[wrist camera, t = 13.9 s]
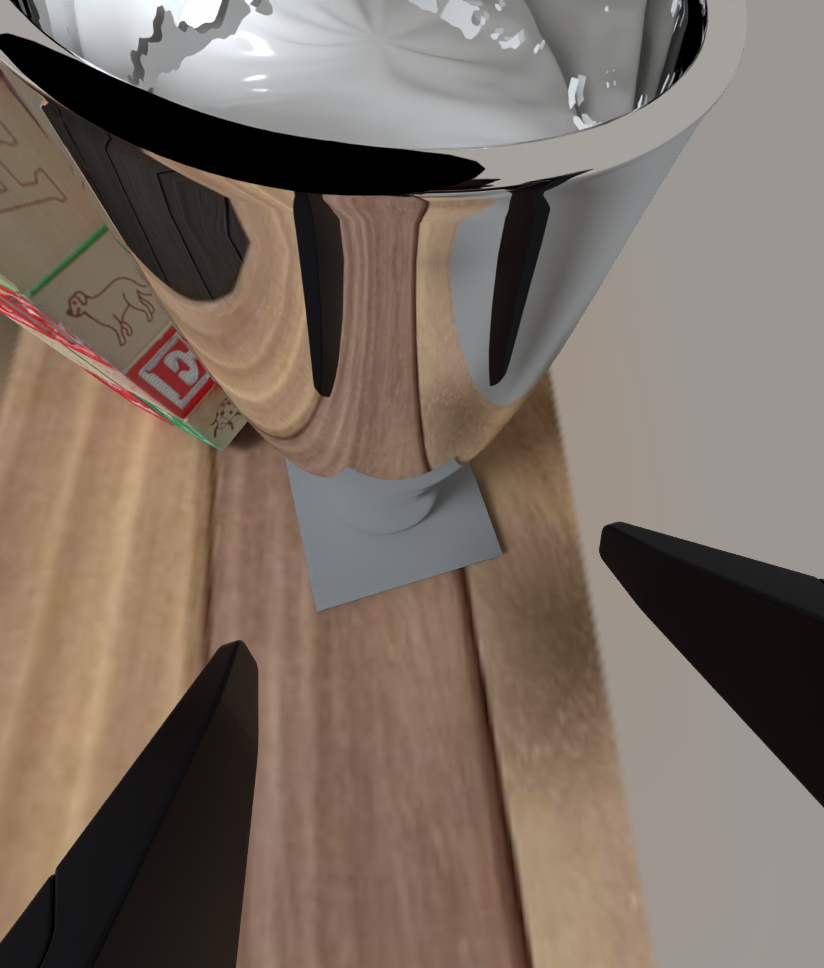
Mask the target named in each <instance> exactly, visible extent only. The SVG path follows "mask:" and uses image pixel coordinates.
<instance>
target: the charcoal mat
mask: <svg viewBox="0 0 824 968" xmlns="http://www.w3.org/2000/svg"><path fill="white" fill-rule="evenodd" d="M285 460H286V465H287V470H288V475H289V479H290V484H291V489H292V494H293V499H294V504H295V509H296V514H297V519H298V524H299V529H300V533H301V538H302V543H303V548H304V553H305V558H306V563H307V568H308V573H309V578H310V583H311V588H312V592H313V597H314V602H315V607H316V612H317V611H321V610H324V609H327V608H330V607H334V606H337V605H340V604H344V603H347V602H350V601H353V600H357V599H360V598H363V597H367V596H370V595H373V594H376V593H380V592H383V591H386V590H389V589H393V588H396V587H399V586H403V585H406V584H409V583H412V582H416V581H419V580H422V579H425V578H429V577H432V576H435V575H439V574H442V573H445V572H448V571H452V570H455V569H458V568H462V567H465V566H468V565H471V564H475V563H478V562H481V561H484V560H488V559H491V558H494V557H498V556H501V555H503V554H502V551H501V548H500V545H499V543H498V540H497V537H496V534H495V531H494V529H493V526H492V523H491V520H490V518H489V515H488V512H487V509H486V506H485V504H484V501H483V498H482V495H481V492H480V490H479V487H478V484H477V481H476V478H475V476H474V473H473V470H472V467H471V464H470V462H468V463H467V464H465V465H464V466H463V467H462V468H461V469H459V470H458V471H457V472H455V473H454V474H452V475H451V476H449V477H448V478H446V479H445V480H443V485H442V490H441V493H440V496H439V498H438V500H437V502H436V504H435V506H434V507H433V509H432V510H431V511H430V512H429V514H428V515H427V516H426V517H425V518H424V519H422V520H421V521H420V522H419V523H417V524H415V525H414V526H412V527H410V528H408V529H405V530H403V531H400V532H396V533H391V534H371V533H366V532H363V531H360V530H357V529H355V528H353V527H351V526H349V525H347V524H346V523H344V522H343V521H342V520H341V519H339V518H338V517H337V516H336V515H335V514H334V512H333V511H332V510H331V509H330V507H329V506H328V504H327V502H326V500H325V498H324V496H323V493H322V490H321V486H320V481H318V480H316V479H315V478H313V477H312V476H310V475H308V474H307V473H305V472H304V471H302V470H301V469H300V468H298V467H297V466H296V465H294V464H293V463H292V462H291V461H289V460H288V459H287V458H286V457H285Z"/></svg>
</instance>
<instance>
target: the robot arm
mask: <svg viewBox="0 0 824 968" xmlns="http://www.w3.org/2000/svg"><path fill="white" fill-rule="evenodd" d="M599 553H600V556H601V558H602V560H603V561H604V562H605V564H606V565H607V566H608V568H609V569H610V570H611V571H612V573H613V574H614V575H615V577H616V578H617V579H618V580H619V582H620V583H621V584H622V586H623V587H624V588H625V590H626V591H627V592H628V593H629V595H630V596H631V598H632V599H633V600H634V601H635V603H636V604H637V605H638V606H639V608H640V609H641V610H642V611H643V612H644V613H645V614H646V616H647V617H648V618H649V619H650V620H651V621H652V622H653V623H654V624H655V625H656V626H657V628H658V629H659V630H660V631H661V632H662V633H663V634H664V635H665V636H666V637H667V638H668V639H669V641H670V642H671V643H672V644H673V645H674V646H675V647H676V648H677V649H678V650H679V651H680V652H681V654H682V655H683V656H684V657H685V658H686V659H687V660H688V661H689V662H690V663H691V664H692V666H693V667H694V668H695V669H696V670H697V671H698V672H699V673H700V674H701V675H702V676H703V677H704V679H706V681H707V682H708V683H709V684H710V685H711V686H712V687H713V688H714V689H715V690H716V692H717V693H718V694H719V695H720V696H721V697H722V698H723V699H724V700H725V701H726V702H727V703H728V705H730V707H731V708H732V709H733V710H734V711H735V712H736V713H737V714H738V715H739V716H740V717H741V719H742V720H743V721H744V722H745V723H746V724H747V725H748V726H749V727H750V728H751V729H752V731H753V732H754V733H755V734H756V735H757V736H758V737H759V738H760V739H761V740H762V741H763V742H764V743H765V745H766V746H767V747H768V748H769V749H770V750H771V751H772V752H773V753H774V754H775V755H776V756H777V758H778V759H779V760H780V761H781V762H782V763H783V764H784V765H785V766H786V767H787V768H788V769H789V771H790V772H791V773H792V774H793V775H794V776H795V777H796V778H797V779H798V780H799V781H800V783H802V785H803V786H804V787H805V788H806V789H807V790H808V791H809V792H810V793H811V794H812V796H813V797H814V798H815V799H816V800H817V801H818V802H819V803H820V804H821V805H822V806H823V807H824V579H817V578H815V577H813V576H810V575H806V574H803V573H799V572H796V571H792V570H789V569H785V568H782V567H778V566H775V565H771V564H767V563H764V562H761V561H757V560H753V559H750V558H747V557H743V556H740V555H736V554H732V553H729V552H725V551H722V550H718V549H715V548H711V547H708V546H704V545H701V544H697V543H694V542H690V541H687V540H683V539H679V538H676V537H673V536H669V535H666V534H662V533H659V532H655V531H652V530H648V529H645V528H641V527H637V526H634V525H631V524H627V523H624V522H615V523H612V524H609V525H606V526H604V528H603V530H602V534H601V541H600V547H599ZM257 756H258V667H257V663H256V661H255V659H254V658H253V656H252V654H251V653H250V651H249V649H248V648H247V646H246V644H245V643H244V642H243V641H241V640H237V641H234V642H231V643H228V644H224V645H222V646H221V647H220V648H219V649H218V650H217V651H216V653H215V654H214V655H213V657H212V658H211V659H210V661H209V662H208V663H207V665H206V666H205V667H204V669H203V670H202V671H201V673H200V674H199V676H198V677H197V678H196V680H195V681H194V682H193V684H192V685H191V686H190V688H189V689H188V690H187V692H186V693H185V694H184V696H183V697H182V699H181V700H180V701H179V703H178V704H177V705H176V707H175V708H174V709H173V711H172V712H171V713H170V715H169V716H168V717H167V719H166V720H165V722H164V723H163V724H162V726H161V727H160V728H159V730H158V731H157V732H156V734H155V735H154V736H153V738H152V739H151V740H150V742H149V743H148V745H147V746H146V747H145V749H144V750H143V751H142V753H141V754H140V755H139V757H138V758H137V759H136V761H135V762H134V763H133V765H132V766H131V768H130V769H129V770H128V772H127V773H126V774H125V776H124V777H123V778H122V780H121V781H120V782H119V784H118V785H117V786H116V788H115V789H114V791H113V792H112V793H111V795H110V796H109V797H108V799H107V800H106V801H105V803H104V804H103V805H102V807H101V808H100V809H99V811H98V812H97V814H96V815H95V816H94V818H93V819H92V820H91V822H90V823H89V824H88V826H87V827H86V828H85V830H84V831H83V832H82V834H81V835H80V837H79V838H78V839H77V841H76V842H75V843H74V845H73V846H72V847H71V849H70V850H69V851H68V853H67V854H66V855H65V857H64V858H63V860H62V861H61V862H60V864H59V865H58V866H57V868H56V871H55V874H53V875H51V876H50V877H49V878H48V880H47V881H46V882H45V884H44V885H43V886H42V888H41V889H40V890H39V892H38V893H37V894H36V896H35V897H34V898H33V900H32V901H31V903H30V904H29V905H28V907H27V908H26V909H25V911H24V912H23V913H22V915H21V916H20V917H19V919H18V920H17V921H16V923H15V924H14V925H13V927H12V928H11V929H10V931H9V932H8V933H7V934H6V936H5V937H4V938H3V940H2V941H1V942H0V968H236V962H237V952H238V942H239V932H240V923H241V913H242V903H243V894H244V884H245V874H246V864H247V855H248V845H249V835H250V826H251V816H252V806H253V796H254V787H255V777H256V767H257Z"/></svg>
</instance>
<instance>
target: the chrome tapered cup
mask: <svg viewBox="0 0 824 968" xmlns="http://www.w3.org/2000/svg"><path fill="white" fill-rule="evenodd" d="M746 33H747V8H746V2H745V0H0V69H1V70H2V72H3V73H4V75H5V76H6V77H7V79H8V80H9V82H10V83H11V84H12V86H13V87H14V89H15V90H16V91H17V93H18V94H19V96H20V97H21V99H22V100H23V101H24V103H25V104H26V106H27V107H28V108H29V110H30V111H31V113H32V114H33V116H34V117H35V119H36V120H37V122H38V123H39V125H40V126H41V128H42V129H43V131H44V132H45V134H46V135H47V137H48V138H49V140H50V141H51V143H52V144H53V146H54V147H55V149H56V150H57V152H58V153H59V155H60V156H61V158H62V159H63V160H64V162H65V163H66V165H67V166H68V168H69V169H70V171H71V172H72V174H73V175H74V177H75V178H76V180H77V181H78V183H79V184H80V186H81V187H82V189H83V191H84V192H85V194H86V195H87V197H88V198H89V200H90V201H91V203H92V204H93V206H94V207H95V209H96V211H97V212H98V214H99V215H100V217H101V218H102V220H103V221H104V223H105V224H106V226H107V227H108V229H109V231H110V232H111V234H112V235H113V237H114V238H115V240H116V241H117V243H118V244H119V246H120V248H121V249H122V251H123V252H124V254H125V255H126V257H127V258H128V260H129V261H130V263H131V264H132V266H133V267H134V269H135V270H136V272H137V273H138V275H139V276H140V278H141V279H142V281H143V282H144V284H145V285H146V287H147V288H148V290H149V291H150V292H151V294H152V295H153V297H154V298H155V300H156V301H157V303H158V304H159V306H160V307H161V309H162V310H163V312H164V313H165V315H166V316H167V318H168V319H169V320H170V322H171V323H172V325H173V326H174V328H175V329H176V331H177V332H178V334H179V335H180V337H181V338H182V340H183V341H184V342H185V344H186V345H187V346H188V348H189V349H190V350H191V352H192V353H193V354H194V356H195V357H196V358H197V360H198V361H199V362H200V364H201V365H202V366H203V368H204V369H205V370H206V372H207V373H208V374H209V376H210V377H211V378H212V380H213V381H214V382H215V384H216V385H217V386H218V388H219V389H220V390H221V392H222V393H223V394H224V395H225V397H226V398H227V399H228V400H229V401H230V403H231V404H232V405H233V406H234V407H235V408H236V409H237V410H238V411H239V412H240V414H241V415H242V416H243V417H244V418H245V419H246V420H247V421H248V422H249V423H250V425H251V426H252V427H253V428H254V429H255V430H256V431H257V432H258V433H259V434H260V435H261V437H262V438H263V439H264V440H265V441H266V442H267V443H269V444H270V445H271V446H272V447H273V448H274V449H275V450H277V451H278V452H279V453H280V454H282V455H283V456H284V457H286V458H287V459H288V460H289V461H291V462H292V463H293V464H294V465H296V466H297V467H298V468H300V469H301V470H302V471H304V472H305V473H307V474H308V475H310V476H312V477H313V478H315V479H316V480H318V481H320V486H321V490H322V493H323V496H324V498H325V500H326V502H327V504H328V506H329V507H330V509H331V510H332V511H333V512H334V514H335V515H336V516H337V517H338V518H339V519H341V520H342V521H343V522H344V523H346V524H347V525H349V526H351V527H353V528H355V529H357V530H360V531H363V532H366V533H371V534H391V533H396V532H400V531H403V530H405V529H408V528H410V527H412V526H414V525H415V524H417V523H419V522H420V521H421V520H422V519H424V518H425V517H426V516H427V515H428V514H429V512H430V511H431V510H432V509H433V507H434V506H435V504H436V502H437V500H438V498H439V496H440V493H441V490H442V485H443V480H445V479H446V478H448V477H449V476H451V475H452V474H454V473H455V472H457V471H458V470H459V469H461V468H462V467H463V466H464V465H465V464H467V463H468V462H469V461H470V460H471V459H473V458H474V457H475V456H476V455H477V454H478V453H480V452H481V451H482V450H483V449H484V448H485V447H487V446H488V445H489V444H490V443H491V442H492V441H493V439H494V438H495V437H496V436H497V435H498V434H499V433H500V431H501V430H502V429H503V428H504V427H505V425H506V424H507V423H508V422H509V421H510V419H511V418H512V417H513V416H514V415H515V414H516V412H517V411H518V410H519V409H520V408H521V406H522V405H523V404H524V403H525V401H526V400H527V399H528V397H529V396H530V394H531V393H532V392H533V390H534V389H535V387H536V386H537V384H538V383H539V381H540V380H541V379H542V377H543V376H544V374H545V373H546V371H547V370H548V368H549V367H550V366H551V364H552V363H553V361H554V360H555V358H556V357H557V355H558V354H559V353H560V351H561V349H562V348H563V346H564V345H565V343H566V341H567V340H568V338H569V337H570V335H571V333H572V332H573V330H574V328H575V327H576V325H577V324H578V322H579V320H580V319H581V317H582V315H583V314H584V312H585V310H586V309H587V307H588V306H589V304H590V303H591V301H592V299H593V298H594V296H595V295H596V293H597V291H598V290H599V288H600V286H601V285H602V283H603V281H604V280H605V278H606V276H607V275H608V273H609V271H610V270H611V268H612V266H613V264H614V263H615V261H616V259H617V258H618V256H619V254H620V253H621V251H622V249H623V248H624V246H625V244H626V242H627V241H628V239H629V237H630V236H631V234H632V232H633V231H634V229H635V227H636V225H637V224H638V222H639V220H640V219H641V217H642V215H643V214H644V212H645V210H646V209H647V207H648V205H649V204H650V202H651V200H652V199H653V197H654V196H655V194H656V192H657V191H658V189H659V188H660V186H661V184H662V182H663V181H664V179H665V178H666V176H667V174H668V173H669V171H670V169H671V168H672V166H673V165H674V163H675V161H676V160H677V158H678V156H679V155H680V153H681V152H682V150H683V149H684V147H685V145H686V144H687V143H688V141H689V139H690V138H691V136H692V135H693V133H694V132H695V130H696V128H697V127H698V125H699V124H700V122H701V121H702V120H703V118H704V117H705V116H706V115H707V114H708V113H709V112H710V110H711V109H712V108H713V106H714V105H715V104H716V103H717V101H718V100H719V99H720V97H721V96H722V95H723V93H724V92H725V90H726V89H727V87H728V85H729V83H730V82H731V79H732V78H733V76H734V74H735V72H736V70H737V67H738V65H739V62H740V60H741V57H742V53H743V50H744V45H745V39H746Z"/></svg>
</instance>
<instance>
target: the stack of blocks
mask: <svg viewBox="0 0 824 968" xmlns="http://www.w3.org/2000/svg"><path fill="white" fill-rule="evenodd" d="M0 312H1V313H3V314H5V315H6V316H7V317H9V318H10V319H12V320H13V321H15V322H16V323H18V324H19V325H21V326H22V327H23V328H25V329H26V330H28V331H29V332H31V333H32V334H34V335H35V336H37V337H38V338H39V339H41V340H42V341H44V342H45V343H47V344H48V345H50V346H51V347H53V348H54V349H56V350H57V351H58V352H60V353H61V354H63V355H64V356H66V357H67V358H69V359H70V360H72V361H73V362H75V363H77V364H78V365H80V367H82V368H83V369H84V370H86V371H87V372H88V373H90V374H91V375H93V376H94V377H95V378H97V379H98V380H100V381H101V382H102V383H104V384H105V385H107V386H108V387H110V388H111V389H112V390H114V391H115V392H117V393H118V394H120V395H121V396H122V397H124V398H125V399H127V400H128V401H129V402H131V403H133V404H134V405H136V406H138V407H140V408H141V409H143V410H145V411H147V412H149V413H151V414H153V415H154V416H156V417H158V418H160V419H162V420H163V421H165V422H167V423H169V424H171V425H173V426H177V427H179V428H181V429H182V430H184V431H186V432H188V433H189V434H191V435H193V436H195V437H197V438H198V439H200V440H202V441H204V442H206V443H207V444H209V445H211V446H213V447H215V448H216V449H218V450H220V451H223V450H225V449H226V448H227V446H228V445H229V444H230V442H231V441H232V440H233V439H234V437H235V436H236V435H237V434H238V432H239V431H240V430H241V429H242V428H243V426H244V425H245V424H246V422H247V420H246V419H245V418H244V417H243V416H242V415H241V414H240V412H239V411H238V410H237V409H236V408H235V407H234V406H233V405H232V404H231V403H230V401H229V400H228V399H227V398H226V397H225V395H224V394H223V393H222V392H221V390H220V389H219V388H218V386H217V385H216V384H215V382H214V381H213V380H212V378H211V377H210V376H209V374H208V373H207V372H206V370H205V369H204V368H203V366H202V365H201V364H200V362H199V361H198V360H197V358H196V357H195V356H194V354H193V353H192V352H191V350H190V349H189V348H188V346H187V345H186V344H185V342H184V341H183V340H182V338H181V337H180V335H179V334H178V332H177V331H176V329H175V328H174V326H173V325H172V323H171V322H170V320H169V319H168V318H167V316H166V315H165V313H164V312H163V310H162V309H161V307H160V306H159V304H158V303H157V301H156V300H155V298H154V297H153V295H152V294H151V292H150V291H149V290H148V288H147V287H146V285H145V284H144V282H143V281H142V279H141V278H140V276H139V275H138V273H137V272H136V270H135V269H134V267H133V266H132V264H131V263H130V261H129V260H128V258H127V257H126V255H125V254H124V252H123V251H122V249H121V248H120V246H119V244H118V243H117V241H116V240H115V238H114V237H113V235H112V234H111V232H110V231H109V229H108V227H107V226H106V224H105V223H104V221H103V220H102V218H101V217H100V215H99V214H98V212H97V211H96V209H95V207H94V206H93V204H92V203H91V201H90V200H89V198H88V197H87V195H86V194H85V192H84V191H83V189H82V187H81V186H80V184H79V183H78V181H77V180H76V178H75V177H74V175H73V174H72V172H71V171H70V169H69V168H68V166H67V165H66V163H65V162H64V160H63V159H62V158H61V156H60V155H59V153H58V152H57V150H56V149H55V147H54V146H53V144H52V143H51V141H50V140H49V138H48V137H47V135H46V134H45V132H44V131H43V129H42V128H41V126H40V125H39V123H38V122H37V120H36V119H35V117H34V116H33V114H32V113H31V111H30V110H29V108H28V107H27V106H26V104H25V103H24V101H23V100H22V99H21V97H20V96H19V94H18V93H17V91H16V90H15V89H14V87H13V86H12V84H11V83H10V82H9V80H8V79H7V77H6V76H5V75H4V73H3V72H2V70H1V69H0Z"/></svg>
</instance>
